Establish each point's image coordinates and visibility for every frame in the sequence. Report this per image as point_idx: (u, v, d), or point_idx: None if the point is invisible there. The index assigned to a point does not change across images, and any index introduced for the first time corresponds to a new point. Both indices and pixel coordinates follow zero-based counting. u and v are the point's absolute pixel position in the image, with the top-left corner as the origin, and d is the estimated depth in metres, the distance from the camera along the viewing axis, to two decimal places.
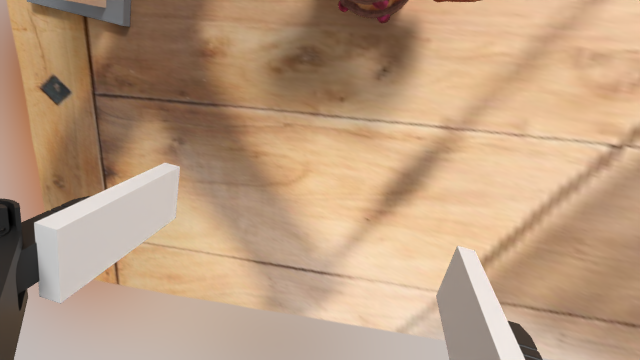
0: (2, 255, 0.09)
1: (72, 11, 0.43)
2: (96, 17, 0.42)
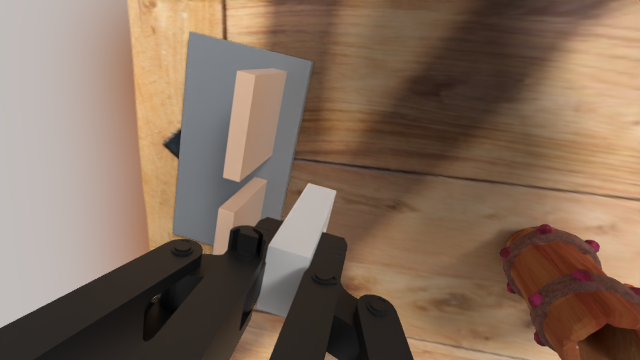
0: (241, 279, 0.10)
1: None
2: None
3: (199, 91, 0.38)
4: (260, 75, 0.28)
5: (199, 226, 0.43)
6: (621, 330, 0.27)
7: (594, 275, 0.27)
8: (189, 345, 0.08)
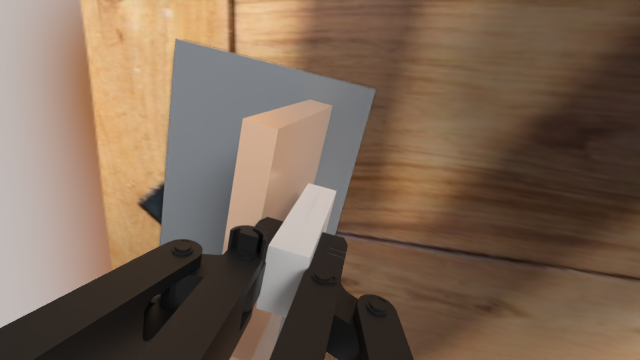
0: (241, 279, 0.10)
1: None
2: None
3: (191, 132, 0.24)
4: (288, 125, 0.15)
5: None
6: None
7: None
8: (189, 345, 0.08)
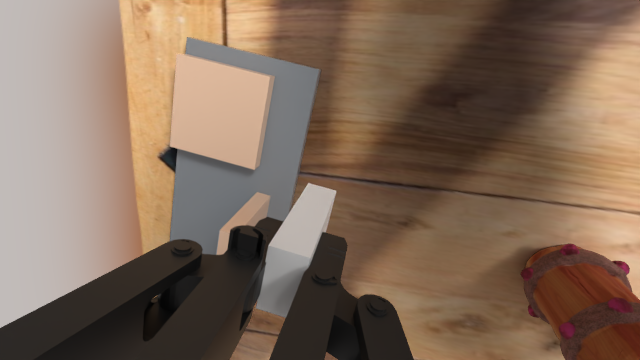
0: (241, 279, 0.10)
1: None
2: None
3: None
4: (189, 57, 0.32)
5: None
6: None
7: (632, 304, 0.25)
8: (189, 345, 0.08)
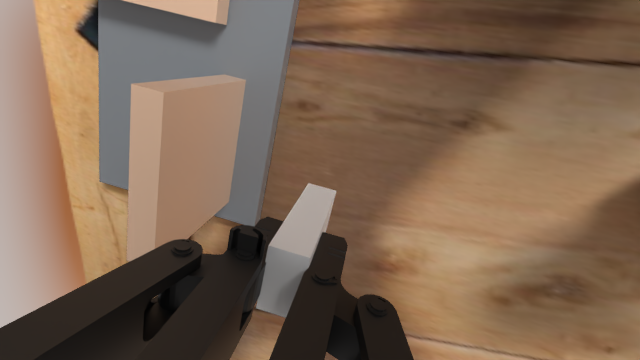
0: (241, 279, 0.10)
1: None
2: None
3: None
4: None
5: None
6: None
7: None
8: (189, 345, 0.08)
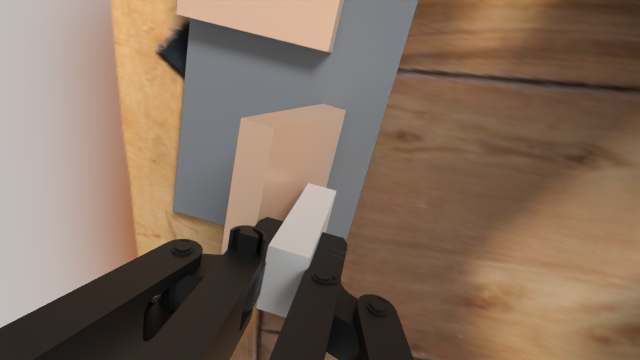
0: (241, 279, 0.10)
1: None
2: None
3: None
4: None
5: (219, 198, 0.25)
6: None
7: None
8: (188, 345, 0.08)
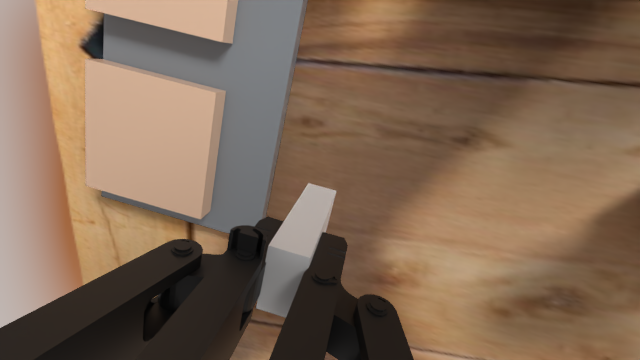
0: (241, 279, 0.10)
1: (175, 215, 0.27)
2: (214, 227, 0.27)
3: None
4: None
5: None
6: None
7: None
8: (189, 345, 0.08)
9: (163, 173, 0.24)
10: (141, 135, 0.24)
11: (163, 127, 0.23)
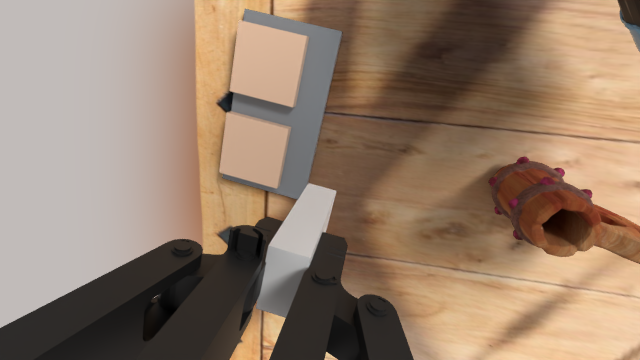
0: (241, 279, 0.10)
1: (261, 188, 0.53)
2: (281, 193, 0.53)
3: None
4: (247, 22, 0.44)
5: None
6: (575, 221, 0.37)
7: (556, 181, 0.37)
8: (189, 345, 0.08)
9: (260, 166, 0.50)
10: (250, 148, 0.50)
11: (261, 144, 0.49)
